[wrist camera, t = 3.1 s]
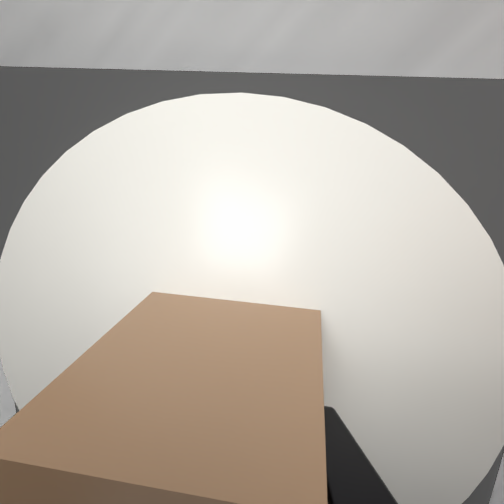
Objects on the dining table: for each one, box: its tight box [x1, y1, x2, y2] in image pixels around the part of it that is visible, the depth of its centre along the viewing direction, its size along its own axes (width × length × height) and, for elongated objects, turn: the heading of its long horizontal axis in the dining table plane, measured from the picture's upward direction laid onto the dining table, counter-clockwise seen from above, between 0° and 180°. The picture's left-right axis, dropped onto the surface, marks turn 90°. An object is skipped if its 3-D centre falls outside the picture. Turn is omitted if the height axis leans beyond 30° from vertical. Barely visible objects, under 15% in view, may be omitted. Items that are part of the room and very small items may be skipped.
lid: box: [0, 93, 504, 504], centre depth 7 cm, size 13×13×6 cm
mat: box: [0, 66, 504, 504], centre depth 10 cm, size 14×14×1 cm
